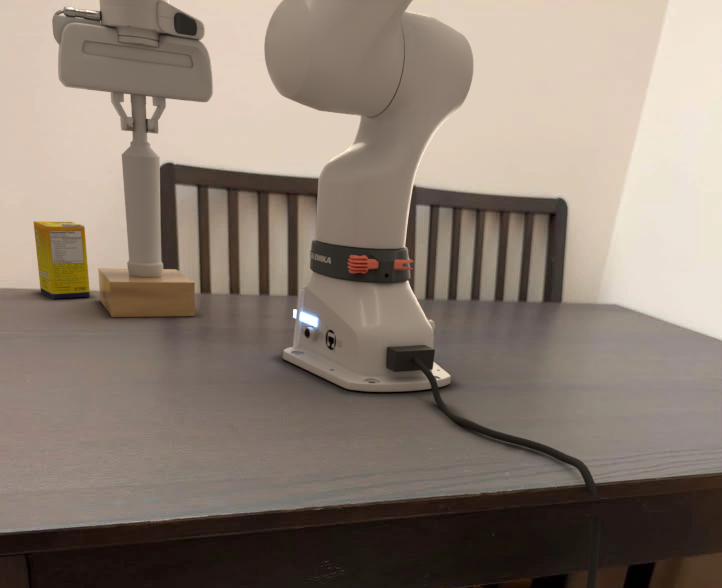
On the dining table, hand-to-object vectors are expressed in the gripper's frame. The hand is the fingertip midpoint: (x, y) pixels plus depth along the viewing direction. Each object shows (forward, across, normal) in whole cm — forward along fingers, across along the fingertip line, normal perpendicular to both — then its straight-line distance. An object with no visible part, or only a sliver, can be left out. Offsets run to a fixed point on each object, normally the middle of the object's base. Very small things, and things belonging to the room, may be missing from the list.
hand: (139, 132), depth 102 cm
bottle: (+20, 0, 0) cm, 20 cm away
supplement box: (+25, -11, +11) cm, 29 cm away
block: (+25, 0, 0) cm, 25 cm away
